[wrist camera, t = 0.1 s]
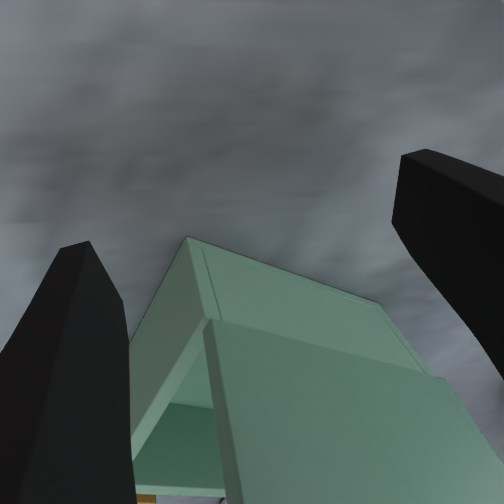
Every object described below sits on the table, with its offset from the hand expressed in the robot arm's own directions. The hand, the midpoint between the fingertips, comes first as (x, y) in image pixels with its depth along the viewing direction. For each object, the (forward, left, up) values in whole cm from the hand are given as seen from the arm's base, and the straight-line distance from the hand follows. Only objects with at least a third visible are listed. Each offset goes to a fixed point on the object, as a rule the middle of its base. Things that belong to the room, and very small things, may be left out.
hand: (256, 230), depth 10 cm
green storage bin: (-12, -9, -11) cm, 18 cm away
